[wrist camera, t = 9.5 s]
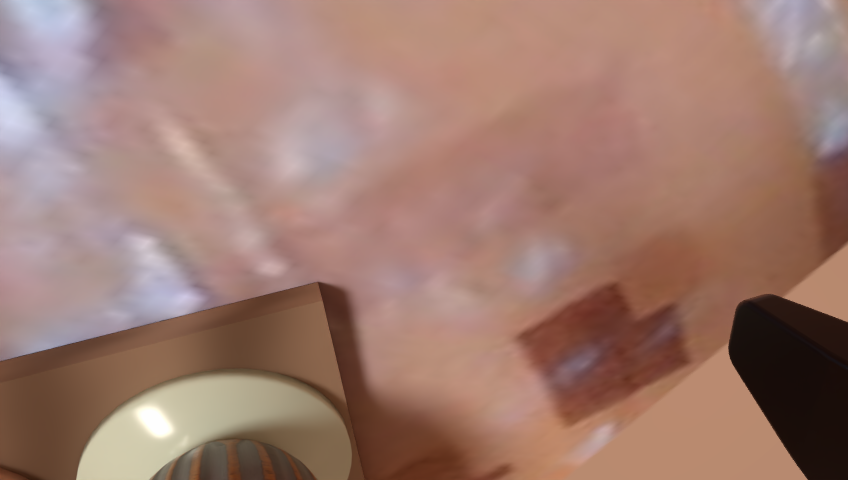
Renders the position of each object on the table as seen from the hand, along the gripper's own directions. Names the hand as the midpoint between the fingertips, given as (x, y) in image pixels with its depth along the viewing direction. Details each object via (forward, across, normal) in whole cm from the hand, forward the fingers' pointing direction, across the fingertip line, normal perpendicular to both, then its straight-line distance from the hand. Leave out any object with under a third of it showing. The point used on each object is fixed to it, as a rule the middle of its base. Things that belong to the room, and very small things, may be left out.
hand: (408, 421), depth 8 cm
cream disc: (+12, +5, +13) cm, 18 cm away
